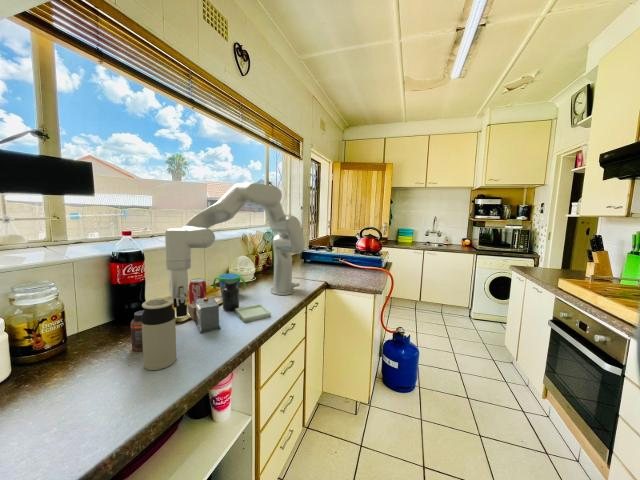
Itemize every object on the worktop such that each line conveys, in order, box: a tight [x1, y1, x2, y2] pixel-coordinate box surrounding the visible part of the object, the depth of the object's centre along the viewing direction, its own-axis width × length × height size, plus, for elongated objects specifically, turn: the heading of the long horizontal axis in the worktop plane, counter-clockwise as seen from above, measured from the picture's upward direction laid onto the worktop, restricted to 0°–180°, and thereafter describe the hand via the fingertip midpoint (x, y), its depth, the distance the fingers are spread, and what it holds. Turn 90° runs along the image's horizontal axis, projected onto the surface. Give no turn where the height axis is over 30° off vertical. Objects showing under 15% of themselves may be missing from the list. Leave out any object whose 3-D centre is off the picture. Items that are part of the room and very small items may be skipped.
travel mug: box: [141, 297, 177, 371], centre depth 73 cm, size 8×8×18 cm
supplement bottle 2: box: [222, 281, 240, 312], centre depth 113 cm, size 7×7×12 cm
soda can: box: [188, 277, 207, 305], centre depth 114 cm, size 7×7×12 cm
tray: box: [235, 303, 272, 323], centre depth 108 cm, size 11×11×2 cm
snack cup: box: [212, 272, 246, 297], centre depth 129 cm, size 16×10×10 cm
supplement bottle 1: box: [130, 309, 144, 352], centre depth 81 cm, size 6×6×11 cm
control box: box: [194, 296, 222, 334], centre depth 97 cm, size 7×11×10 cm, turn 34°
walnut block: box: [187, 303, 197, 321], centre depth 104 cm, size 5×5×5 cm
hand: (180, 311), depth 91 cm, fingers open, 9 cm apart
